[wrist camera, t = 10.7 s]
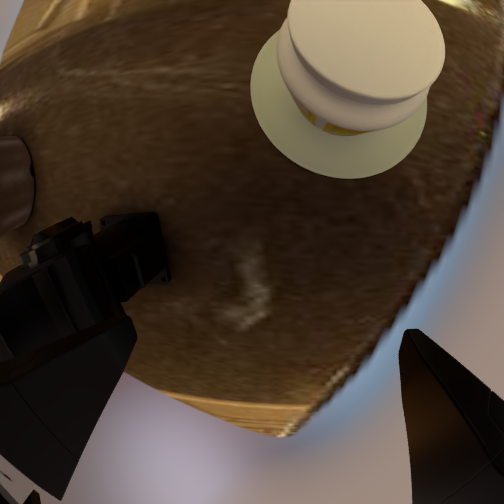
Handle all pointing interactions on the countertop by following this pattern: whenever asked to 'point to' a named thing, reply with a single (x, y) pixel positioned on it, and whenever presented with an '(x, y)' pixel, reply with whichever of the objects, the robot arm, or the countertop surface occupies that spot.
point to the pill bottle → (359, 61)
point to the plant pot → (14, 184)
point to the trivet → (318, 141)
